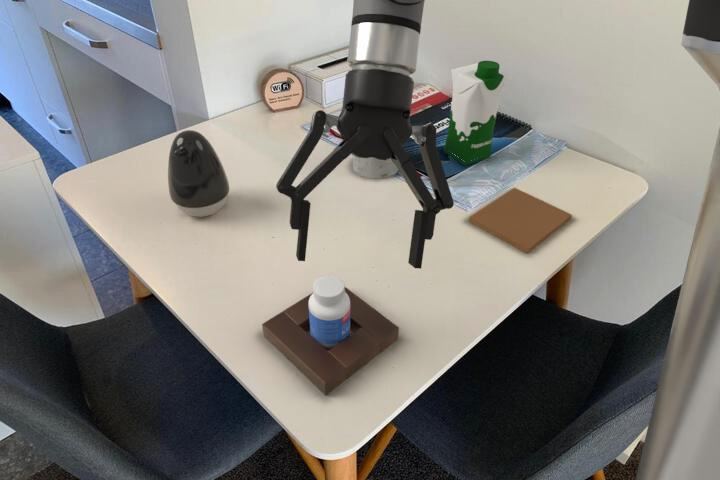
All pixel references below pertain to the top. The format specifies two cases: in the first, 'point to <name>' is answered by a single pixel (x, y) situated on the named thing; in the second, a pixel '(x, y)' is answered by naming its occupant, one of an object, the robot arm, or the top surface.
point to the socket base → (340, 360)
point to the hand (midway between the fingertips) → (358, 262)
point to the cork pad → (520, 219)
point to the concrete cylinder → (374, 167)
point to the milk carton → (474, 111)
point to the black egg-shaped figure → (196, 175)
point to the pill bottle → (329, 312)
